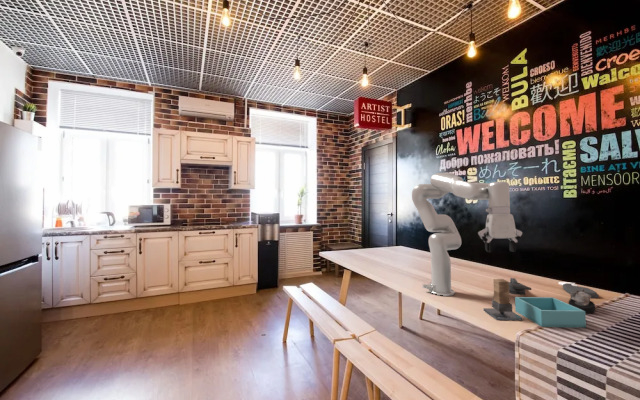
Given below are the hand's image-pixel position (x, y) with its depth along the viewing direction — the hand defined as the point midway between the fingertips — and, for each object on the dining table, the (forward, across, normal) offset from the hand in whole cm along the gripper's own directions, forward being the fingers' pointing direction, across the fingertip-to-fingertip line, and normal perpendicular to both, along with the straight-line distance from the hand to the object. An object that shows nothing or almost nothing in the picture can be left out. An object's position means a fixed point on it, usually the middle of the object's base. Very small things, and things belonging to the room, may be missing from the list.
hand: (500, 251), depth 116 cm
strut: (+24, 0, 0) cm, 24 cm away
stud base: (+26, 0, 0) cm, 26 cm away
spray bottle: (+27, +56, +34) cm, 71 cm away
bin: (+26, +16, -3) cm, 31 cm away
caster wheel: (+27, +38, +7) cm, 47 cm away
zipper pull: (+27, +24, +29) cm, 46 cm away
